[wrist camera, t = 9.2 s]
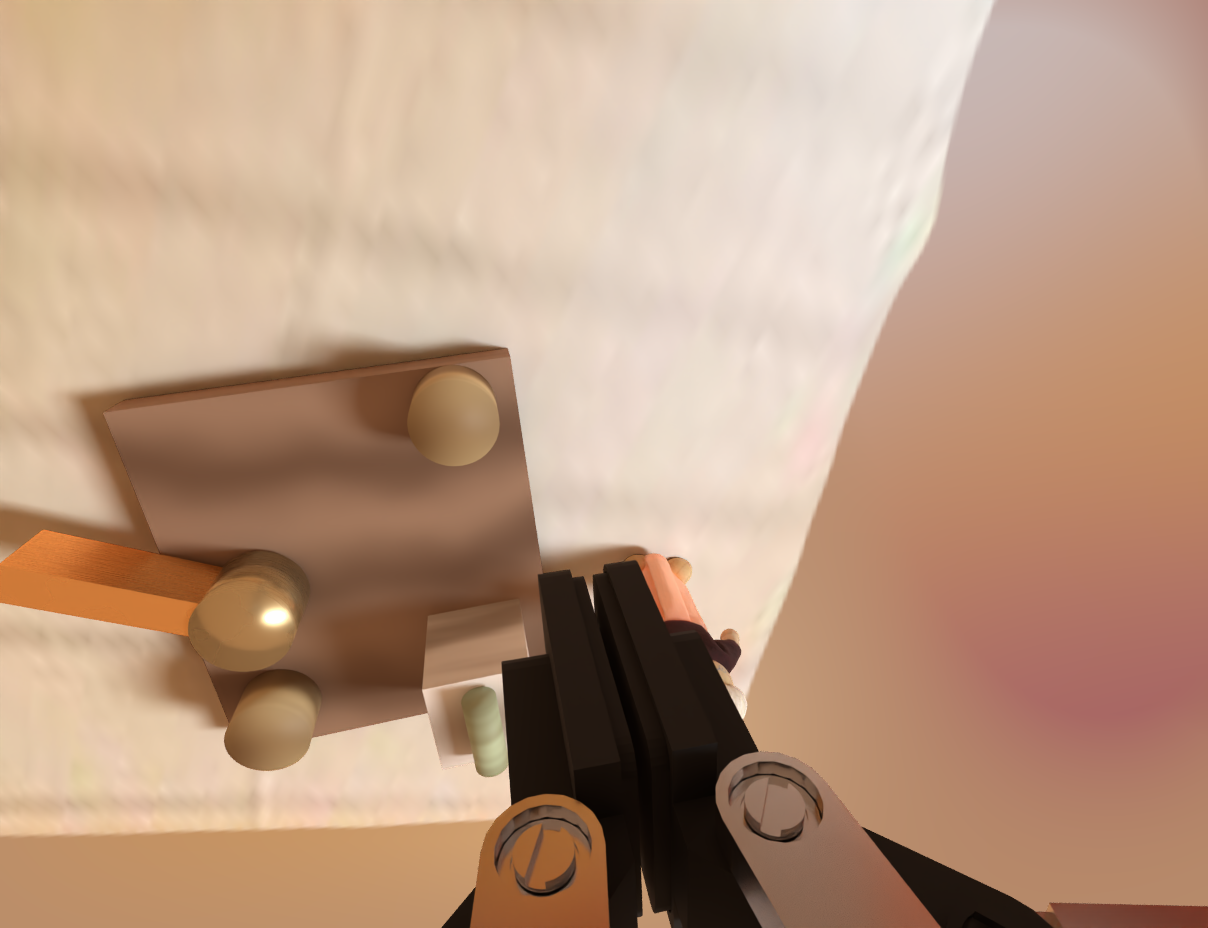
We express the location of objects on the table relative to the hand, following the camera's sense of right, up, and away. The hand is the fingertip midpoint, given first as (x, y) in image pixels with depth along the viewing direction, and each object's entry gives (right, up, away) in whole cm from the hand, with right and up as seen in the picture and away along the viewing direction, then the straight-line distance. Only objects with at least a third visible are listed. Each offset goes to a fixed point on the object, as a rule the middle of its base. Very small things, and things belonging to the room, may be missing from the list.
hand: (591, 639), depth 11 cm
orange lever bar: (-20, -2, +21) cm, 29 cm away
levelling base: (-13, -2, +25) cm, 28 cm away
